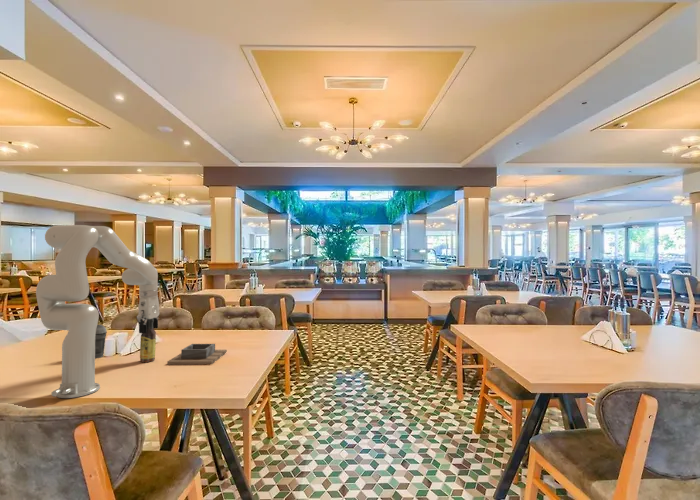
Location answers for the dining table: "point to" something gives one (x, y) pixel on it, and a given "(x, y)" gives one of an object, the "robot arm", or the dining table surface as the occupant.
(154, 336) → the sauce bottle
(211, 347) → the condiment holder
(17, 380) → the dining table surface
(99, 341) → the beverage cup
